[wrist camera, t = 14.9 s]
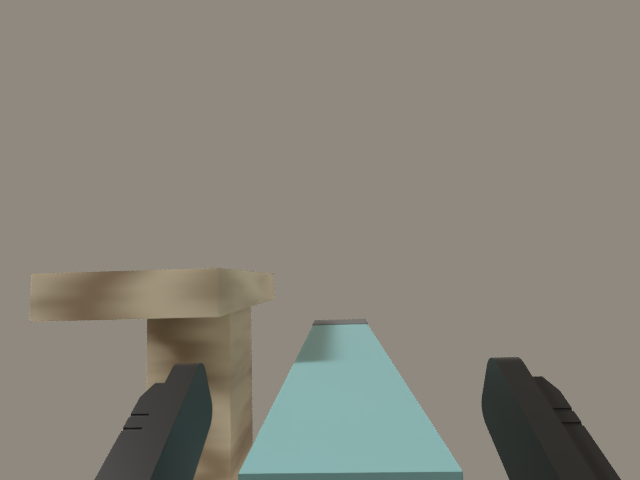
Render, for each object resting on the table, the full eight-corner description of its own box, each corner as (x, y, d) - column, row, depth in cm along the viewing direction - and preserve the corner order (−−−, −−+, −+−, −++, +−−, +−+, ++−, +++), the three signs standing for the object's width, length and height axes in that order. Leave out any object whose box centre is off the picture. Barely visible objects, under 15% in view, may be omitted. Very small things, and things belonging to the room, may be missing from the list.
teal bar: (237, 722, 7) (235, 471, 7) (316, 371, 33) (314, 320, 33) (480, 725, 7) (465, 468, 7) (367, 370, 33) (365, 319, 33)
